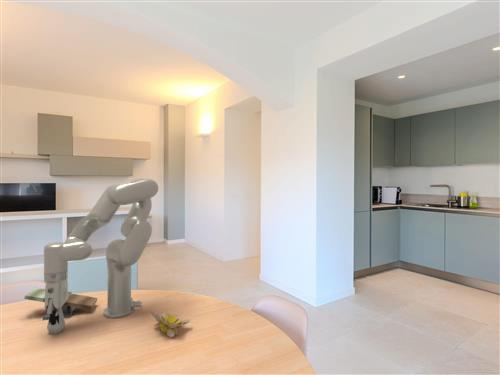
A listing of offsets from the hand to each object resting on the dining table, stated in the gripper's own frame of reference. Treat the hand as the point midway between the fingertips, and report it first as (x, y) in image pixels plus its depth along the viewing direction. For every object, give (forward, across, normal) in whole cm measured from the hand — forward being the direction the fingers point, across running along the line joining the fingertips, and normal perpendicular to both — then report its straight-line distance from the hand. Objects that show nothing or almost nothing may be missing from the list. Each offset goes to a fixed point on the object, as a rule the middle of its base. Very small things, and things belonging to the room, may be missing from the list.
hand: (56, 323), depth 112 cm
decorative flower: (+4, -8, -42) cm, 43 cm away
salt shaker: (+3, 0, 0) cm, 3 cm away
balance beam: (-2, +18, +4) cm, 19 cm away
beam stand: (+3, +18, +4) cm, 19 cm away
